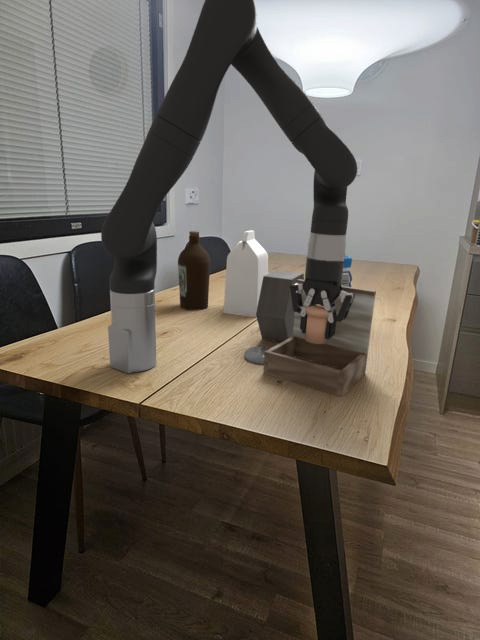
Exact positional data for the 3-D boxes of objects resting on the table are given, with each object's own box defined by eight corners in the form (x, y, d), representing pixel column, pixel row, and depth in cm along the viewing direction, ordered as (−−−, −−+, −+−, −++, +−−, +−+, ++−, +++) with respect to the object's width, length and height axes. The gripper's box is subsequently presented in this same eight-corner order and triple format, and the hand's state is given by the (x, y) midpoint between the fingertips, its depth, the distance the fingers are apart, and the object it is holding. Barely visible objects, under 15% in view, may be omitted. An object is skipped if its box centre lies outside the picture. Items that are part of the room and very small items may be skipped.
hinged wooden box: (341, 396, 83) (352, 304, 77) (263, 373, 92) (267, 289, 87) (365, 373, 94) (376, 291, 89) (293, 354, 104) (299, 279, 98)
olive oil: (203, 301, 149) (204, 230, 142) (214, 309, 140) (215, 233, 133) (174, 304, 145) (173, 230, 138) (183, 312, 136) (183, 233, 129)
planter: (283, 307, 127) (273, 254, 112) (308, 311, 124) (301, 257, 109) (264, 351, 118) (251, 299, 103) (291, 356, 115) (281, 304, 100)
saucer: (269, 367, 95) (269, 364, 95) (236, 357, 100) (236, 354, 100) (288, 355, 102) (288, 352, 102) (256, 347, 107) (257, 344, 107)
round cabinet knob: (323, 347, 87) (327, 312, 85) (297, 340, 90) (301, 306, 88) (333, 339, 92) (338, 306, 89) (309, 334, 95) (313, 301, 93)
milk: (257, 317, 133) (261, 233, 126) (223, 312, 137) (225, 231, 129) (267, 308, 144) (272, 231, 137) (236, 304, 148) (238, 228, 140)
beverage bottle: (318, 321, 132) (324, 257, 126) (323, 314, 139) (328, 253, 134) (346, 324, 129) (353, 259, 123) (349, 317, 137) (356, 255, 131)
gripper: (285, 253, 86) (279, 332, 91) (353, 262, 79) (341, 348, 84) (301, 250, 92) (294, 324, 97) (366, 259, 85) (354, 338, 90)
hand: (316, 335), depth 91 cm, fingers closed on round cabinet knob, 4 cm apart
